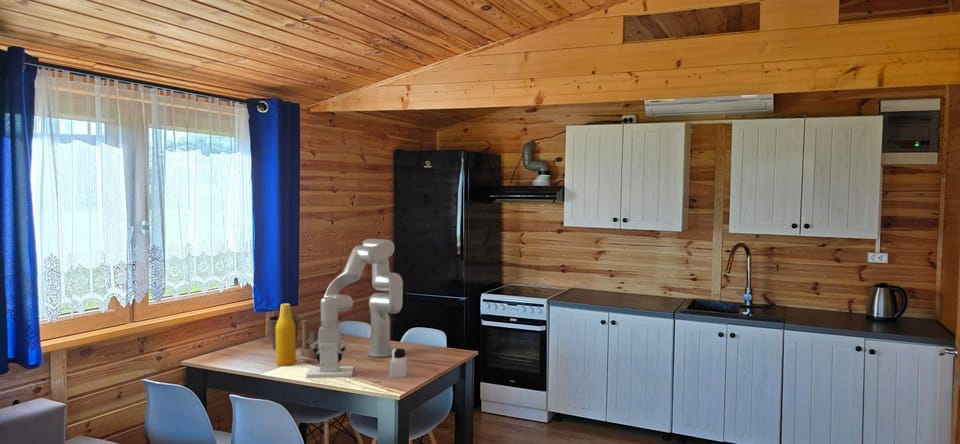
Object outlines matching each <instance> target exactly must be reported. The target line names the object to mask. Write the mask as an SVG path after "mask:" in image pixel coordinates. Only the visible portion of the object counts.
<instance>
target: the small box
mask: <svg viewBox="0 0 960 444" xmlns="http://www.w3.org/2000/svg"><path fill="white" fill-rule="evenodd" d="M338 353H339V352H338V343H329V344H320V363H319V367H320V372H337V371H338V369H339V366H340V362H338Z"/></svg>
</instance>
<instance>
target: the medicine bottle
mask: <svg viewBox="0 0 960 444" xmlns="http://www.w3.org/2000/svg"><path fill="white" fill-rule="evenodd" d="M407 373H408V358H407V357H406V350H405V349H404V348H397V349H393V350H392V355H391V358H390V360H389V377H390V378H406V377H407Z"/></svg>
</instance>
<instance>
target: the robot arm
mask: <svg viewBox="0 0 960 444" xmlns="http://www.w3.org/2000/svg"><path fill="white" fill-rule="evenodd" d="M361 244H362V245H356V246H355V247H353V248H352V251H351V253H350V254H349V257H348V259H347V262H346V264H345V266H344V269H343V271H342V272H341V273H340V274H339V275H338V276H336V277H335V279H333V280H332V281H331V282H330V283H329V285H328V287H327V289H326V291H325V293H324V296H323V297H322V298H321V299H320V326H319V328H318V330H319V333H318V340H317V341H315V342H314V343H312V344H311V345H310V346H311V347H312V349H313V350H314V351H315V352H316V354H317V358H316V360H317V361H318V364H320V344H329V343H338V352H339V353H338V362H339V363H341V360H342V359H343V358H342V357H343V355H342V354H343V352H344V351H346V349H347V347H348V346H349V343H348V342H347V341H345V340H343V339H342V336H341V335H342V334H341V327H340V326H339V325H341V323H342V322H341V320H340V321H339V319H338V316H339V314H338V312H339V313H340V312H347V311H349V310H351V309H352V307H353V305H354V300H353V298H352V297H351V296H350V295H347V294H340V293H339V292H340V291H341V290H342V289H343V288H345V287H347V286H348V285H351V284H353V283H355V282H357V281H359V280H360V278H361V277H362V274H363V272H364V269H365V267H366V265H367V264H371V266H372V267H371V268H372V269H371V270H372V272H371V274H372V275H371V281H372V282H371V283H372V287H373V289H374V290H376V291H382V292H375V293H372V295H371V296H370V297H369V298H368V306H369V311H370V351H368V352H367V355H368V356H369V357H370V358H371V357H372V358H386V357H387V358H388V357H392V350H393V349H397V348H399V347H398V346H391V320H390V316H389V314H398V313H400V312H401V310H402V308H403V296H404V295H403V291H404V290H403V289H404V288H403V287H404V282H403V279H402V276H401V275H400V274H399V273H397V272H390V262H389V259H388V258H390V257H391V256H392V255H393V253H395V252H394V251H395V243H394V242H393V241H391V240H390V239H383V238H382V239H381V238H380V239H379V238H366V239H364V240H363V241H362V243H361ZM384 292H388V293H384ZM316 344H318V348H319V349H317V348H315V345H316ZM341 345H343V346H342V348H341Z"/></svg>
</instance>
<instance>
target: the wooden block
mask: <svg viewBox="0 0 960 444" xmlns="http://www.w3.org/2000/svg"><path fill="white" fill-rule="evenodd" d="M318 333H319V329H317V330H316V329H315V330H314V331H313V332H312V333H311V334H310V320H309V319H303V320H302V321H301V335H302V336H301V339H302V342H301V345H302V347H301V348H300V356H302V357H306V358H310V359H314V360H315V359H316V360H317V354H316V352H315V351H314V350H313V349H312V347H311V346H310V345H311V344H312V343H314V342H315V341H317V340H318ZM315 348H317V349H319V348H318V344H316V345H315Z"/></svg>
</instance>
